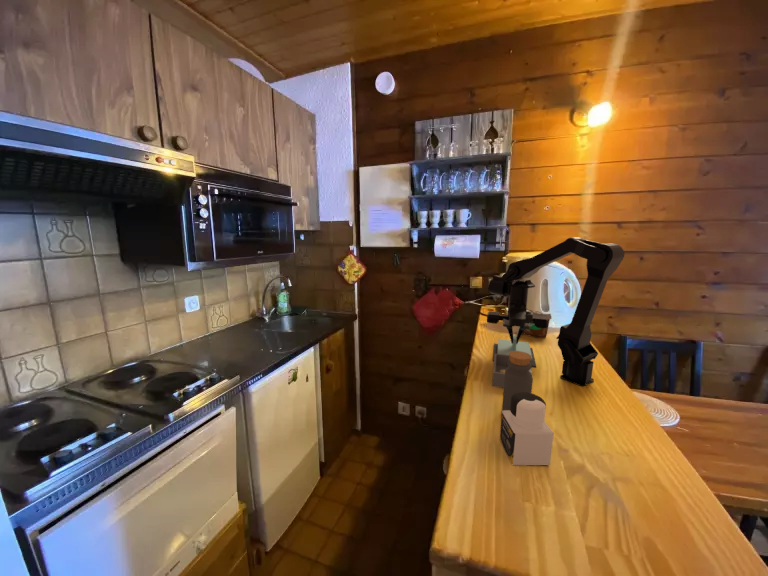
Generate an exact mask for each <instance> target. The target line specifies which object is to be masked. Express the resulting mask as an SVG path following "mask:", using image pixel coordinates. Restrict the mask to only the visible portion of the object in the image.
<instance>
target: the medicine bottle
mask: <svg viewBox="0 0 768 576" xmlns="http://www.w3.org/2000/svg"><path fill="white" fill-rule="evenodd" d="M546 406H547V404H546V401H545V400H544V399H543V398H542V397H541V396H539V395H537V394H534V393H532V392H531V393H528V392H517V393H515V394H513V395H512V397H511V406H510V410H503V411H502V410H501V417H500V418H501V419H500V431H499V441H500V443H501V446H502V447H503V450H504V452H505V454H506V456H507V458H508V460H509V462H510V464H511V465H512V464H513V465H512V466H526V465H549V466H550V465H551V461H552V460H551V459H552V453H553V451H552V449H553V441H554V431H553V430H552V429H551V427H550V426H549V425H548V423H547V422H546V421H545V418H546V408H547V407H546Z"/></svg>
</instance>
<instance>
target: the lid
mask: <svg viewBox="0 0 768 576" xmlns="http://www.w3.org/2000/svg"><path fill="white" fill-rule="evenodd" d="M516 336H517V334H513V344H512V343H511V339H510V340H509V339H501V338H498V339H497V344H498V353H497V354H502V355H509V353H510V352H512V351H521V352H525V353H528V354H529V355H531V360H532V354H531V350H530V348H531V347H530V346H531V345H530V342H527V341H520V340H519V341H518V343H517V344H516V342H517V337H516Z"/></svg>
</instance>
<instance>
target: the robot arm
mask: <svg viewBox="0 0 768 576" xmlns="http://www.w3.org/2000/svg"><path fill="white" fill-rule="evenodd" d="M572 254H574V255H575V256H578V257H580V258H582V259H585V260H586V272H587V278H586V280H585V282H584V285H583V288H582V291H581V294H580V297H579V299H578V303H577V305H576V308H575V311H574V313H573V316H572V320H571V321H570V323H568V324H564V325H561V326H560V328H559V332H558V335H557V337H556V339H557V347H558V348H559V349H560V352H561V357H562V360H563V361H562V367H561V369H562V370H561V375H560V376H559V378H560V379H563V380H565V381H568V382H570V383H573V384H575V385H578V386H581V387H586V386H587V385H589V384H591V383H593V382H594V381H595V380H594V378H593V377H592V376H593V369H594V362H595V361H592V360H595V359H596V358H597V357H598V355H599V352H598V351H597V349H596V348H595V347H594V345H592V343H591V339H592V331H591V330H592V329H591V324H592V322H593V319H594V316H595V315H596V312H597V308H598V306H599V304H600V301H601V298H602V296H603V292H604V290H605V288H606V285H607V282H608V280H609V279H610V277H611V276H612V275H613V274H614V273H615V272H616V270H617V269H618V268H619V266H620V265H621V263H622V261H623V260H624V258H625V250H624V249H623V246H621V245H620V244H618V243H614V242H613V243H602V242H599V241H598V242H597V241H593V240H587V239H584V238H582V237H579V236H578V237H568V238H566V239H565V240H564V241H562V242H560V243H558V244H556V245H554V246H552V247H550V248H548V249H545V250H544V251H542V252H540V253H537V254H536V255H534V256H532V257H529V258H525V259H521V260H518V261H514V262H511V263H510V264H509V265H508V266H507V270H506V272H505V273H504V274H503V275H502V276H501V275H497V274H496V275H492V279H491V280H490V281H489V283H488V286H487V290H488V293H489V294H492V295H495V296H502V297H508V301H507V302H508V305H507V315H505V314H500V311H492V310H489V311H488V312H487V316H486V323H487V324H498V323H499V322H500V321H502V326H503V327H505V328H506V329H507V332H508V335H509V339H510V340H511V343H512V344H513V333H514V331H513V327H517V333H516V337H517V342H516V344H517V343H518V341H519V342H520V339H521V337H522V335H523V334H524V331H525V330H526V329H529V328H530V327H529V325H530V323H532V324H535V326H536V327H537V328H548V329H549V326H548V320H547V318H546V317H545V316H540V315H534V317H533V312H527V311H526V309H528V296H529V289H532V288H535V287H536V285H535V284H534V283H533V282H532V281H531V279H529V278H531V277H533V276H534V275H535V274H537V273H538V272H539V271H540V270H541V269H543V268H544V267H547V266H549V265H550V264H553V263H554V262H557V261H559V260H562V259H564V258H566V257H568V256H570V255H572ZM525 279H526V280H525ZM523 280H524V281H523Z"/></svg>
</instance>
